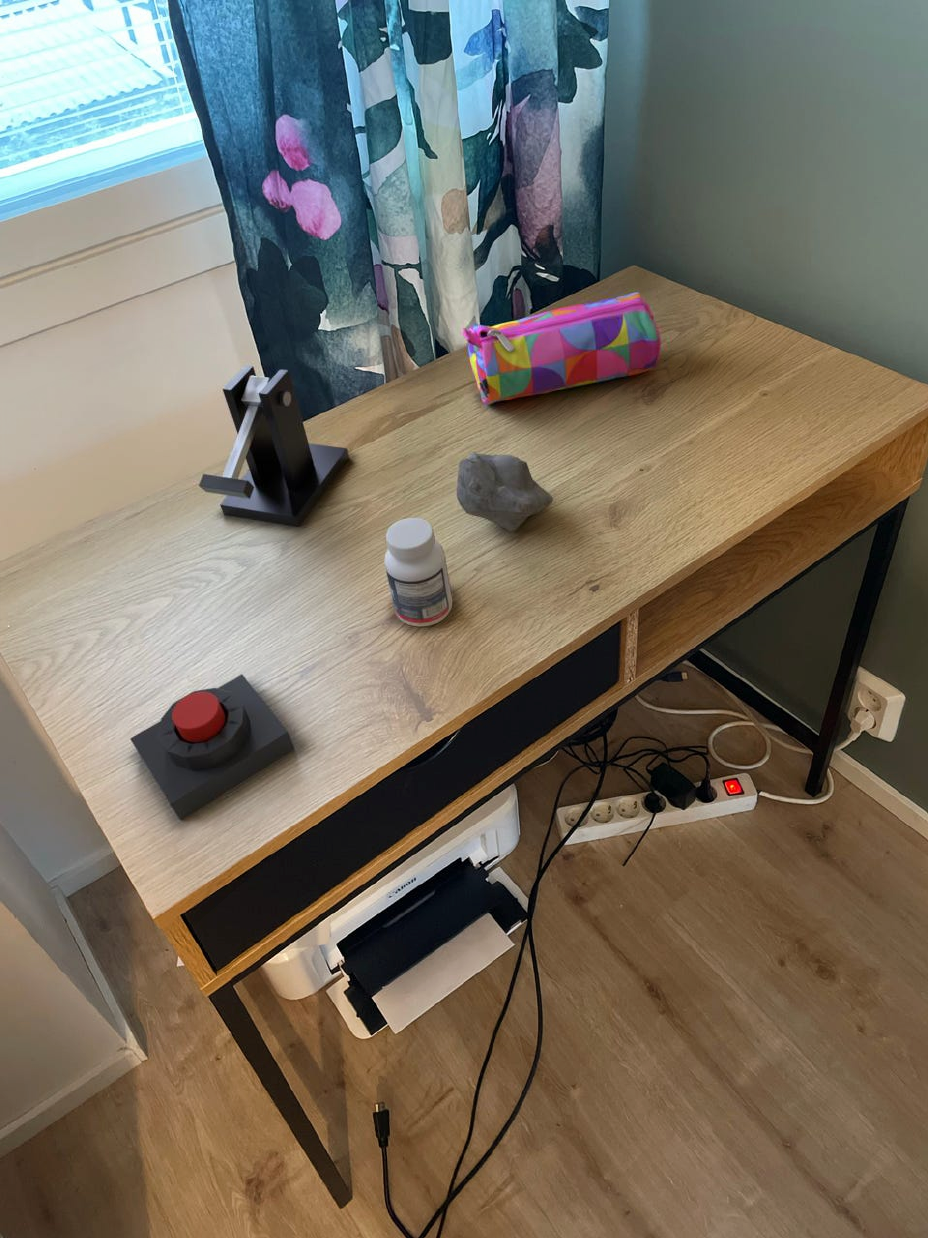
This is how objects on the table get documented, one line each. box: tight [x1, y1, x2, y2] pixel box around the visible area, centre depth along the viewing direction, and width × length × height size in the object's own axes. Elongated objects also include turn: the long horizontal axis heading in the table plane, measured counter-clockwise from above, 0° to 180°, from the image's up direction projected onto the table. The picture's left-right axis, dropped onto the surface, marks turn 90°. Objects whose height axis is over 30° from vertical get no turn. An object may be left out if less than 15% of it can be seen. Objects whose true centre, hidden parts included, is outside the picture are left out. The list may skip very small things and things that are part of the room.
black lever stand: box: [219, 365, 350, 528], centre depth 91 cm, size 12×9×13 cm
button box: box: [129, 673, 296, 821], centre depth 70 cm, size 10×8×4 cm
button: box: [172, 692, 225, 742], centre depth 68 cm, size 4×4×2 cm
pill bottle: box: [384, 517, 453, 627], centre depth 77 cm, size 5×5×9 cm
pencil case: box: [461, 291, 662, 405], centre depth 101 cm, size 22×9×9 cm, turn 103°
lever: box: [198, 375, 272, 499], centre depth 87 cm, size 12×5×2 cm, turn 161°
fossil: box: [456, 451, 554, 532], centre depth 85 cm, size 11×9×8 cm
